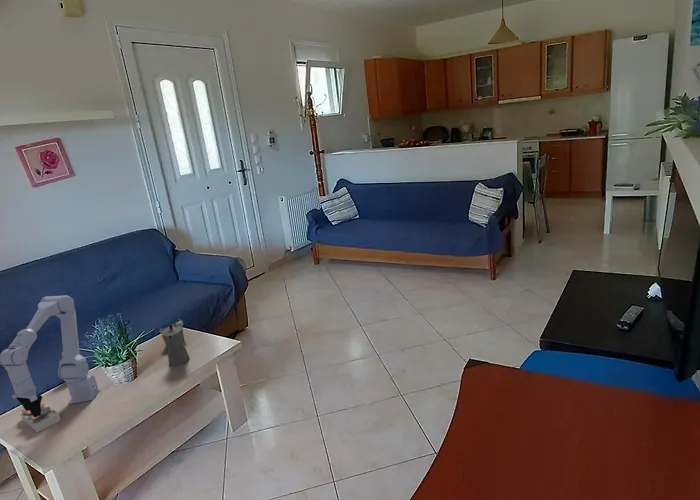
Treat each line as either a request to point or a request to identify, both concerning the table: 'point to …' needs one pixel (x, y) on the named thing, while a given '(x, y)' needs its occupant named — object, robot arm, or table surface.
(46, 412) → the rocker
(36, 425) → the switch unit
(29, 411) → the rocker
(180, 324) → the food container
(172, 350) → the coffeepot
